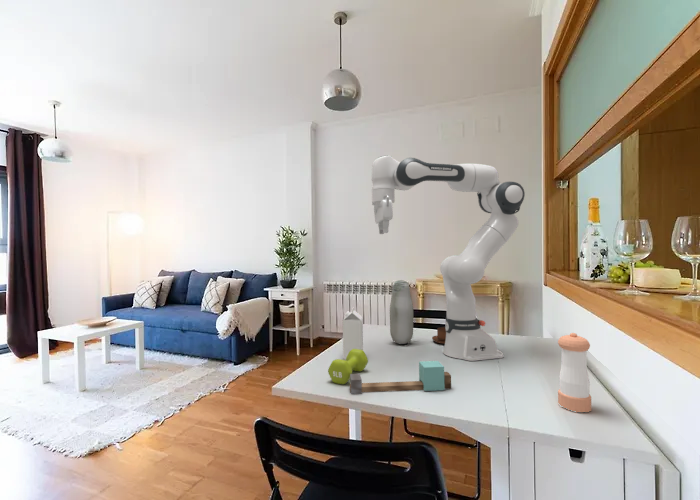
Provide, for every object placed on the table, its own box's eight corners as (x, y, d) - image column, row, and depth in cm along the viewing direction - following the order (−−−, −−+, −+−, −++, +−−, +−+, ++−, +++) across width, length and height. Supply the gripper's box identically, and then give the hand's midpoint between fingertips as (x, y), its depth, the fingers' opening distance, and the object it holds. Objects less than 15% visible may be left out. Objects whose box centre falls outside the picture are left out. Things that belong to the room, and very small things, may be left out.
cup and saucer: (426, 341, 159) (426, 327, 159) (447, 338, 163) (447, 325, 163) (443, 347, 148) (443, 333, 148) (465, 344, 152) (465, 330, 152)
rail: (446, 383, 107) (446, 370, 107) (452, 390, 102) (452, 376, 102) (349, 387, 105) (349, 374, 105) (350, 394, 100) (350, 380, 100)
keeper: (438, 382, 107) (438, 360, 107) (444, 390, 102) (444, 366, 102) (419, 383, 107) (418, 361, 107) (424, 390, 101) (424, 367, 101)
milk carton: (363, 354, 138) (362, 306, 138) (361, 360, 131) (361, 309, 131) (345, 354, 138) (344, 306, 139) (343, 360, 131) (342, 309, 131)
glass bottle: (393, 339, 161) (392, 279, 161) (415, 341, 157) (414, 279, 157) (387, 345, 152) (386, 280, 152) (410, 347, 148) (409, 281, 148)
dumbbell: (349, 367, 124) (349, 347, 124) (370, 370, 120) (369, 349, 120) (325, 383, 109) (325, 360, 109) (348, 387, 105) (348, 363, 105)
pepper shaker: (558, 409, 89) (557, 334, 89) (558, 398, 95) (557, 328, 96) (592, 415, 85) (591, 337, 86) (590, 404, 92) (589, 331, 92)
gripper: (396, 193, 126) (397, 231, 125) (386, 201, 146) (387, 234, 146) (379, 193, 125) (379, 232, 125) (371, 201, 145) (372, 234, 145)
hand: (383, 233), depth 136 cm, fingers open, 8 cm apart
